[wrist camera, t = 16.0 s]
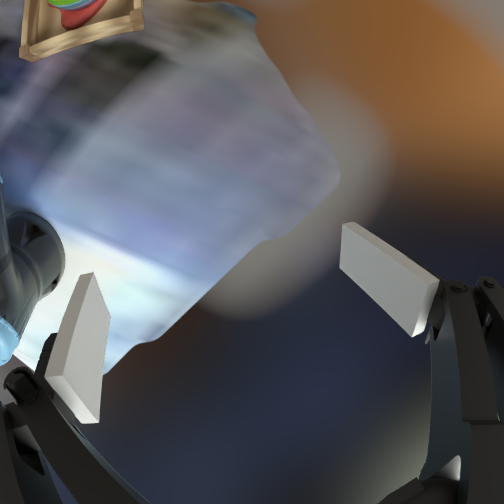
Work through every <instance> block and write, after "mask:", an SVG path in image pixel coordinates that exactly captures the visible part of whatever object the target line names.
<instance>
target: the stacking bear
mask: <svg viewBox="0 0 504 504" xmlns="http://www.w3.org/2000/svg"><path fill="white" fill-rule="evenodd" d="M46 1H47V3H48V6H49V7H54V8H57V9H59V10H60V12H61V24H62V27H64V28H65V29H66V30H75V29H78V28H79V27H81V26H82V25H84V24H85V23H86V22H88V21H89V20H90V19H91V18H92V17H93V16H94V15H95V14H96V13H97V12H98V11H99V10H100V9H101V8H102V7H103V6H104V4H105V3H106V2H107V0H46Z"/></svg>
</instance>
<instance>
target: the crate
mask: <svg viewBox="0 0 504 504" xmlns="http://www.w3.org/2000/svg"><path fill="white" fill-rule="evenodd" d="M140 30H144V18H143V0H107V2H106V3H105V4H104V6H103V7H102V8H101V9H100V10H99V11H98V12H97V13H96V14H95V15H94V16H93V17H92V18H91V19H90V20H89V21H88V22H86V23H85V24H84V25H82V26H81V27H79V28H78V29H75V30H66V29H65V28H64V27H62V24H61V12H60V10H59V9H57V8H54V7H49V6H48V3H47V1H46V0H25V4H24V12H23V22H22V36H21V47H20V48H19V57H20V58H22V59H25V60H28V61H31V62H33V63H34V62H36V61H38V60H41V59H42V58H44V57H47V56H49V55H52V54H55V53H57V52H60V51H63V50H66V49H69V48H72V47H75V46H78V45H81V44H84V43H88V42H91V41H95V40H98V39H102V38H106V37H110V36H114V35H118V34H123V33H127V32H132V31H134V32H135V31H140Z"/></svg>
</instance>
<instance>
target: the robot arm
mask: <svg viewBox="0 0 504 504" xmlns="http://www.w3.org/2000/svg"><path fill="white" fill-rule="evenodd" d="M2 183H3V179H2V178H1V172H0V366H1V365H3V364H5V363H7V362H8V361H9V359H10V358H11V356H12V354H13V352H14V350H15V349H16V348H17V346H18V345H19V342H20V339H21V336H22V334H23V332H24V329H25V327H26V325H27V323H28V320H29V318H30V316H31V314H32V312H33V310H34V308H35V305H36V303H37V302H38V301H39V300H41V299H42V298H44V297H45V296H47V295H48V294H50V293H51V292H52V291H53V290H54V289H55V288H56V287H57V285H58V283H59V281H60V279H61V278H62V275H63V273H64V269H65V253H64V249H63V245H62V243H61V240H60V238H59V236H58V235H57V233H56V232H55V230H54V229H53V228H52V226H51V225H50V224H49V223H47V222H46V221H45V220H44V219H42V218H41V217H39V216H37V215H35V214H32V213H26V212H21V213H16V214H13V215H11V216H9V217H8V218H7V219H6V215H5V208H4V200H3V190H2ZM340 269H342V270H343V271H344V272H345V273H346V274H347V275H348V276H349V277H350V278H351V279H352V280H354V282H356V283H357V284H358V285H359V286H360V287H361V288H362V289H363V290H364V291H365V292H366V293H367V294H368V295H369V296H370V297H372V299H373V300H375V301H376V302H377V303H378V304H379V305H380V306H381V307H382V308H383V309H384V310H385V311H386V312H387V313H388V314H389V315H390V316H391V317H392V318H393V319H394V320H395V321H396V322H397V323H398V324H399V325H400V326H401V327H402V328H403V329H404V330H405V331H406V332H407V333H408V334H409V335H410V336H411V337H413V336H415V335H417V334H419V333H421V332H423V331H424V328H425V325H426V322H427V321H428V322H429V323H430V324H431V328H430V330H429V333H428V336H427V338H426V341H425V344H427V343H428V340H430V345H431V371H432V372H431V374H432V375H431V376H432V378H431V380H432V386H431V419H430V433H429V444H428V453H427V459H426V463H425V464H424V466H423V468H422V470H421V473H420V475H419V479H417V477H416V478H415V479H413V480H412V481H410V482H408V483H407V484H405V485H404V486H402V487H400V488H399V489H398V490H396V491H394V492H392V493H390V494H389V495H387V496H386V497H385V498H383V499H382V500H381V501H379V502H378V503H377V504H504V290H503V289H502V287H501V286H500V284H499V283H498V282H497V281H496V280H494V279H493V278H491V277H486V276H482V277H480V278H478V281H477V284H476V286H475V287H468V286H467V285H466V284H465V283H463V282H461V281H458V280H449V281H447V282H446V281H444V280H443V279H442V278H440V277H439V276H438V275H436V274H435V273H433V272H432V271H431V270H429V269H427V268H426V267H425V266H424V265H421V263H419V262H418V261H416V260H415V259H413V258H410V257H408V256H405V255H403V254H402V253H401V252H399V251H398V250H396V249H394V248H393V247H392V246H390V245H389V244H387V243H386V242H384V241H383V240H381V239H380V238H378V237H377V236H375V235H373V234H372V233H370V232H369V231H367V230H366V229H364V228H362V227H361V226H359V225H358V224H356V223H355V222H351V223H345V224H343V225H342V240H341V255H340ZM489 315H491V317H492V321H491V323H490V325H488V324H487V320H488V318H489ZM110 319H111V316H110V314H109V311H108V309H107V306H106V304H105V301H104V299H103V296H102V294H101V291H100V288H99V286H98V283H97V280H96V278H95V275H94V272H93V273H88V274H83V275H80V277H79V279H78V282H77V284H76V286H75V289H74V291H73V294H72V296H71V299H70V301H69V304H68V306H67V309H66V312H65V314H64V317H63V320H62V322H61V325H60V328H59V331H58V333H52V334H51V335H50V336H49V337H48V339H47V340H46V341H45V343H44V346H43V349H42V353H41V355H40V358H39V359H40V360H39V361H38V364H37V367H36V370H35V374H34V375H33V373H32V372H31V371H30V370H29V369H28V368H27V367H18V368H16V369H14V370H12V371H11V372H10V373H9V374H8V375H7V377H6V378H5V381H4V390H5V392H6V393H7V394H8V395H9V396H10V398H11V399H12V400H13V401H14V402H12V403H10V404H7V405H3V404H2V402H1V401H0V504H63V502H62V500H61V498H60V495H59V493H58V491H57V489H56V486H55V484H54V481H53V479H52V476H51V473H50V471H49V468H48V466H47V463H46V460H45V457H46V458H47V460H48V461H49V463H50V465H51V466H52V467H53V469H54V470H55V472H56V474H57V475H58V476H59V478H60V479H61V481H62V482H63V483H64V484H65V486H66V487H67V489H68V490H69V491H70V493H71V494H72V495H73V497H74V498H75V499H76V500H77V502H78V503H79V504H151V503H150V502H148V501H147V500H146V499H145V498H144V497H143V496H142V495H140V494H139V493H138V492H137V491H136V490H135V489H134V488H133V487H132V486H131V485H129V484H128V483H127V482H126V481H125V480H124V479H123V478H122V477H121V476H120V475H119V474H118V473H117V472H116V471H115V470H114V469H113V468H112V467H111V466H110V465H109V464H108V463H107V462H106V460H104V458H103V457H102V456H101V455H100V454H99V453H98V452H97V451H96V449H95V448H94V447H93V446H92V445H91V444H90V442H89V441H88V440H87V439H86V438H85V436H84V435H83V434H82V433H81V432H80V431H79V429H78V428H77V427H76V426H75V425H74V417H75V416H76V417H77V418H78V419H79V420H80V422H81V423H98V422H99V411H100V397H101V386H102V376H103V367H104V359H105V351H106V344H107V338H108V331H109V325H110ZM497 413H498V416H499V419H500V421H499V420H498V416H497ZM44 455H45V457H44Z"/></svg>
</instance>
